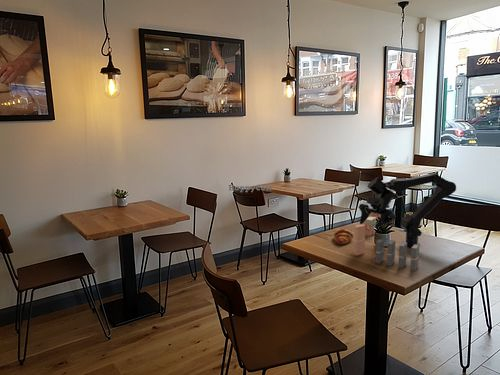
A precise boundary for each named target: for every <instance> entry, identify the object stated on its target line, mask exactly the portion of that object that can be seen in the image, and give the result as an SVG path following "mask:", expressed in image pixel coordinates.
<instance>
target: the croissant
mask: <svg viewBox="0 0 500 375" xmlns="http://www.w3.org/2000/svg"><path fill="white" fill-rule="evenodd" d="M353 237H354V234H353V233H352V231H351V230H348V229H346V228H340V227H339V228H338V229H335V230H334V232H333V239H334V241H335V242H337V243H338V244H340V245H344V244H345V245H346V244H348V243H349V242H351V240H352V239H354V238H353Z"/></svg>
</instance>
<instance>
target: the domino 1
mask: <svg viewBox="0 0 500 375" xmlns="http://www.w3.org/2000/svg"><path fill="white" fill-rule="evenodd" d="M353 239H354V240H353V241H354V246H353V255H355V256H360V255H363V254H365V249H366V248H365V247H366V235H365V225H363V224H362V225H361V224H358V225H355V226H354V238H353Z"/></svg>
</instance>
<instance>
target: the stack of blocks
mask: <svg viewBox="0 0 500 375" xmlns="http://www.w3.org/2000/svg"><path fill="white" fill-rule="evenodd" d="M378 217H381V215H380V214H376V213H372V212H371V214H369V217H368V218H367V219H366V220H365V221H364V222H363V223H362V224H363V225H365V236H366V237H367V236H368V237H372V236H373V235H375V234H376V233H375V230H374V227H375V226H376V219H377V218H378ZM362 224H360V225H362ZM374 233H375V234H374Z"/></svg>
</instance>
